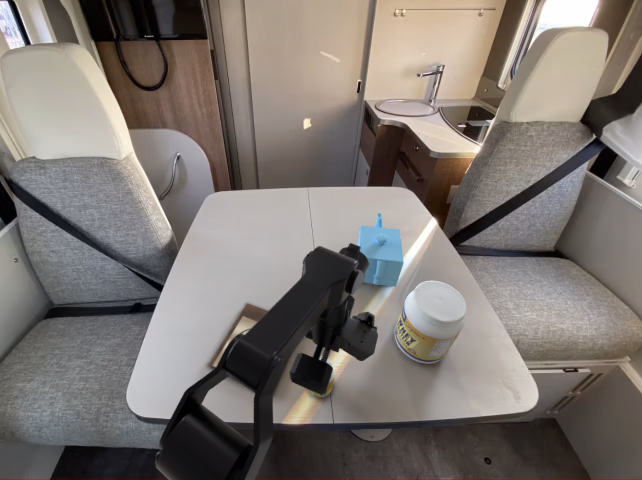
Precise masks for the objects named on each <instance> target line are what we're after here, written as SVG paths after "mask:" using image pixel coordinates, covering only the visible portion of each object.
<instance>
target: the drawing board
mask: <svg viewBox="0 0 642 480" xmlns="http://www.w3.org/2000/svg"><path fill="white" fill-rule="evenodd" d="M268 311H269V310H266V309H263V308H261V307H258V306H256V305H252V304H250V303H246V305H244V307H243V309H242V310H241V312H240V314H239V316H238V317H237V319H236V320H235V322H234V324H233V325H232V327H231V328H230V330H229V331H228V333H227V335H226V336H225V337H224V340H223V341H222V342H221V344H220V346H219V347H218V349H217V350H216V352H215V354H214V355H213V357H212V359H211V360H210V361H209V364H208V365H209V367H211V368H213V369H215V368H216V367H217V365H218V363H219V361H220V359H221V357H222V355H223V353H224V351H225V349H226V347H227V346H228V344H229V343H230V341H231V340H232V339H233V338H234V337H235V336H236V335H238V334H241V333H242V334H244V335H245V334H246V333H247V332H248V331H249V330H250V329H251V328H252V327H253V326H254V325H255V324H256V323H257V322H258V321H259V320H260V319H261V318H262V317H263V316H264V315H265V314H266V313H267V312H268ZM286 363H287V361H286V362H285V364H286Z"/></svg>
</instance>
